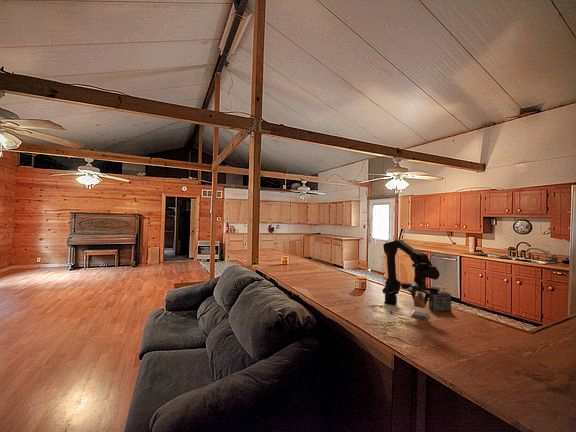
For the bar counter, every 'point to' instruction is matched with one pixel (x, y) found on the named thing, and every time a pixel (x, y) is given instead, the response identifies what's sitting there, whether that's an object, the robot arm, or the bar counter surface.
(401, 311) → the print sheet
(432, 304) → the small box
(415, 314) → the ink pad
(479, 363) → the bar counter surface
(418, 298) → the stamp
